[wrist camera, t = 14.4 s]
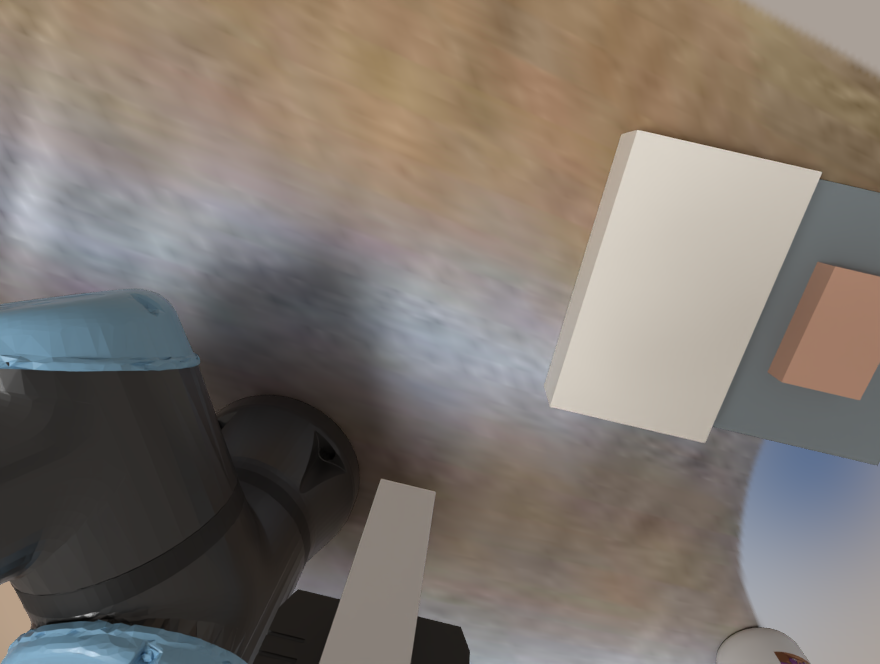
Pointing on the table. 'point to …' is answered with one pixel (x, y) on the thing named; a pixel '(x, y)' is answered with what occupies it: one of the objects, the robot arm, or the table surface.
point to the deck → (674, 282)
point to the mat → (755, 390)
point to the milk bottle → (760, 648)
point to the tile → (833, 334)
